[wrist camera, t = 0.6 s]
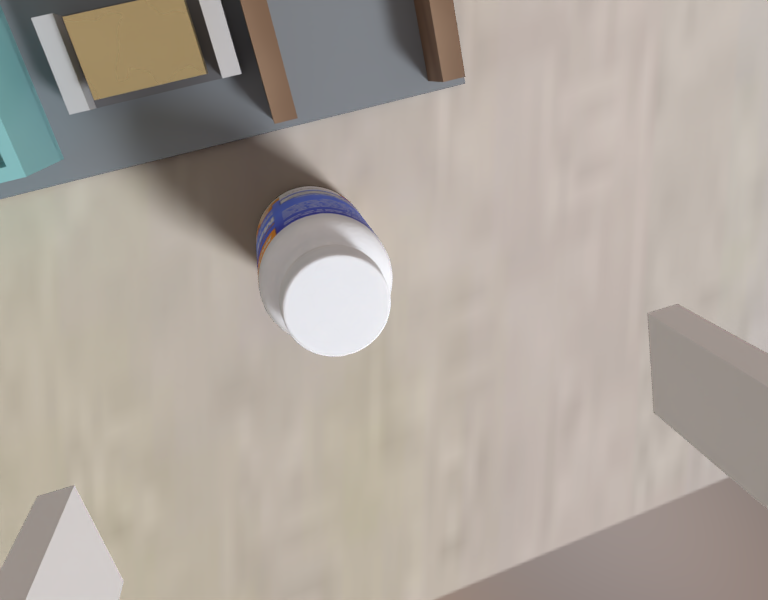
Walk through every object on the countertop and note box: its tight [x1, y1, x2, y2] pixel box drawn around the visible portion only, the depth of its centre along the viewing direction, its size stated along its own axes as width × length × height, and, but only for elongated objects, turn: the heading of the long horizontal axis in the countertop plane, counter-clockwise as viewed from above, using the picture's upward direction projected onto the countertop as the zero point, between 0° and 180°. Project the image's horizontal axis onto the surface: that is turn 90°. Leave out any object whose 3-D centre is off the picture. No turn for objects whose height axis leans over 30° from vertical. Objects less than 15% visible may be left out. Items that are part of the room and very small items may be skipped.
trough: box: [240, 0, 465, 124], centre depth 26 cm, size 8×8×2 cm
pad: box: [62, 0, 208, 100], centre depth 24 cm, size 4×3×1 cm
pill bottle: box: [256, 186, 392, 357], centre depth 27 cm, size 5×5×10 cm
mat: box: [0, 0, 465, 199], centre depth 27 cm, size 26×9×1 cm, turn 103°
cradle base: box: [31, 0, 242, 115], centre depth 26 cm, size 7×4×2 cm, turn 103°
